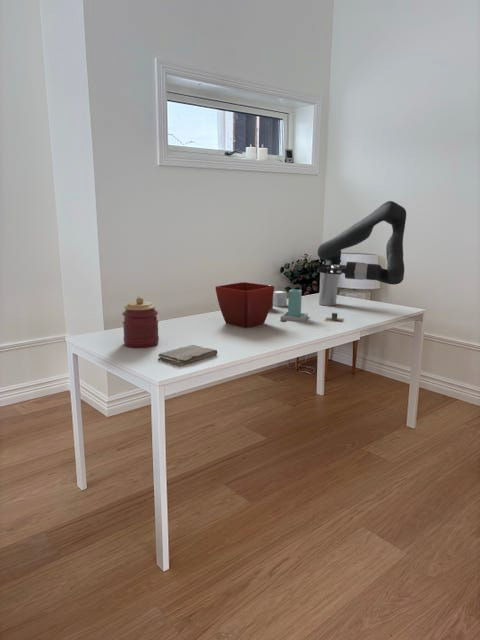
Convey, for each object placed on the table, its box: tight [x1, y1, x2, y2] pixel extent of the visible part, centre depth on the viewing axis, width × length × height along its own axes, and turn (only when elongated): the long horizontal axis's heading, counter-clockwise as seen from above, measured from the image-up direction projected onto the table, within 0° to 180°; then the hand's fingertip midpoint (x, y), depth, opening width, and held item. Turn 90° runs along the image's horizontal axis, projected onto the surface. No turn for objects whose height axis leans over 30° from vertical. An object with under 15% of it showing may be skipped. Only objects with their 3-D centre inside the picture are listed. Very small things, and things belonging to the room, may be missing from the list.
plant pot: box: [214, 281, 275, 328], centre depth 211 cm, size 19×19×17 cm
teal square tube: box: [287, 288, 303, 317], centre depth 220 cm, size 5×5×13 cm
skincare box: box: [273, 290, 288, 308], centre depth 254 cm, size 6×6×7 cm
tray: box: [280, 311, 309, 323], centre depth 221 cm, size 11×11×2 cm
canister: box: [121, 296, 160, 349], centre depth 177 cm, size 13×13×18 cm
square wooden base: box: [324, 312, 345, 323], centre depth 218 cm, size 8×8×4 cm
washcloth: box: [157, 344, 218, 367], centre depth 162 cm, size 12×18×3 cm, turn 141°
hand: (320, 268), depth 216 cm, fingers open, 8 cm apart
